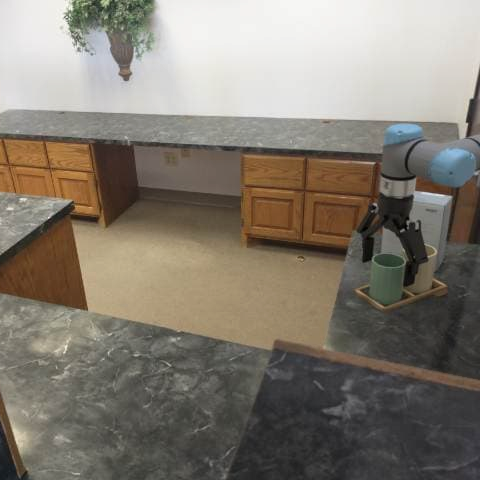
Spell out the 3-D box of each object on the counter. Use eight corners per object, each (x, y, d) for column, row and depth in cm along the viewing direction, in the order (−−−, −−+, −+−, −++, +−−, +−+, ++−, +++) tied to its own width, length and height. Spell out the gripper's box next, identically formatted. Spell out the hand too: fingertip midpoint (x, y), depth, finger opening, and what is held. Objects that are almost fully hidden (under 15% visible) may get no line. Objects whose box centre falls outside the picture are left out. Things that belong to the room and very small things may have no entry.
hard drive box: (443, 261, 144) (454, 196, 135) (435, 273, 139) (446, 206, 130) (387, 248, 153) (394, 186, 145) (377, 259, 149) (384, 195, 140)
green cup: (407, 304, 128) (413, 262, 122) (383, 313, 125) (388, 271, 120) (384, 290, 134) (389, 250, 129) (361, 298, 132) (365, 258, 127)
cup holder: (446, 294, 130) (447, 285, 129) (383, 317, 124) (384, 309, 123) (413, 276, 139) (414, 268, 138) (353, 297, 133) (353, 289, 132)
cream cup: (437, 293, 131) (443, 251, 125) (414, 301, 128) (420, 260, 123) (413, 280, 137) (418, 240, 132) (391, 287, 135) (396, 247, 129)
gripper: (345, 180, 126) (340, 255, 136) (428, 215, 105) (415, 300, 115) (369, 174, 128) (363, 248, 138) (455, 206, 107) (440, 291, 117)
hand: (386, 272), depth 126 cm, fingers open, 13 cm apart
